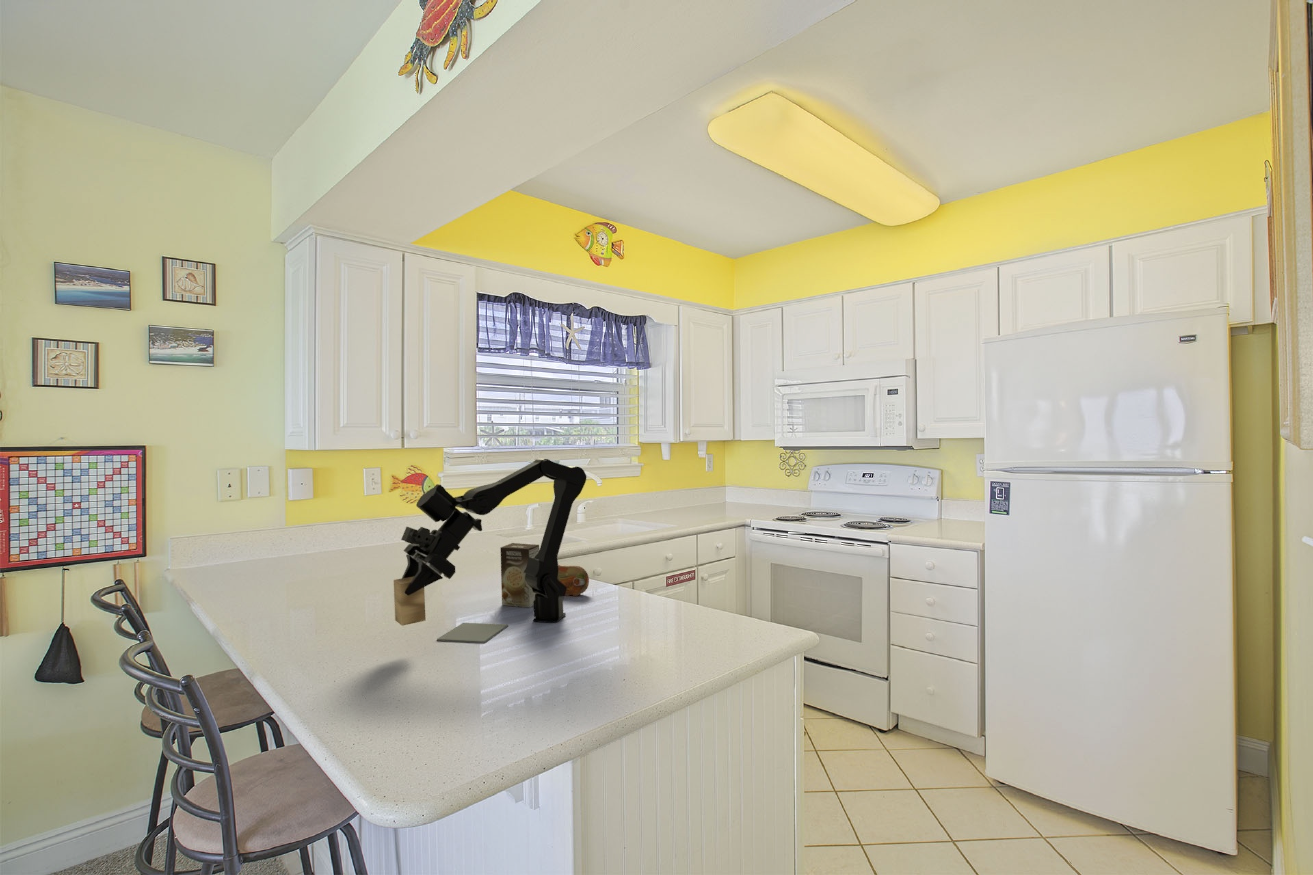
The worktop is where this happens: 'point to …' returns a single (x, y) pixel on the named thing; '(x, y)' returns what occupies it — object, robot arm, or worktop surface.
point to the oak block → (408, 603)
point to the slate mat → (472, 632)
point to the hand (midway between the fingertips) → (402, 591)
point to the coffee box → (516, 574)
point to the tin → (573, 579)
